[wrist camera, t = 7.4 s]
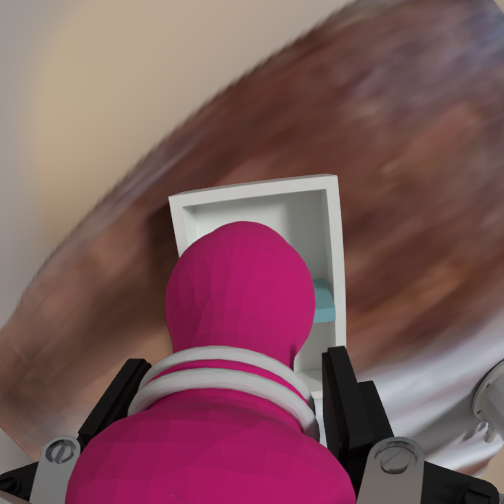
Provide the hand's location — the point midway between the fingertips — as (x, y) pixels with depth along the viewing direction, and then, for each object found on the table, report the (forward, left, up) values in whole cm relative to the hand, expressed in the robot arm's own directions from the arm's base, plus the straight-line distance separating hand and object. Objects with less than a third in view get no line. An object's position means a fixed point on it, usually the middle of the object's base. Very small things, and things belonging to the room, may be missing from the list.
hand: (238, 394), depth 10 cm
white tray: (-5, 0, -23) cm, 24 cm away
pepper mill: (+1, +1, -11) cm, 11 cm away
